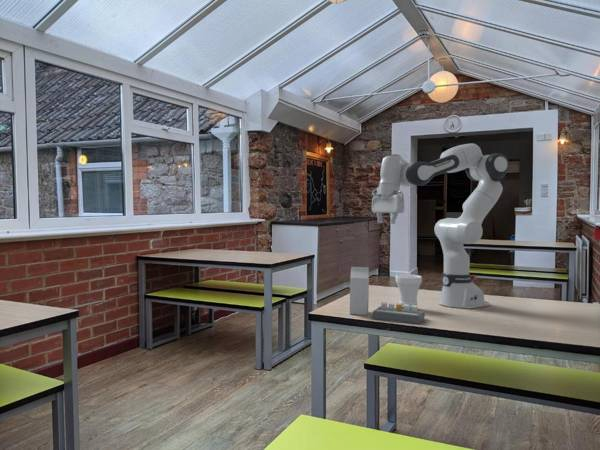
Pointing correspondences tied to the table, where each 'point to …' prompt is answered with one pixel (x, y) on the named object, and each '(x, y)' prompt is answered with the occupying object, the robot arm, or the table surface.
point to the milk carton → (359, 290)
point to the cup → (408, 288)
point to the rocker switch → (399, 307)
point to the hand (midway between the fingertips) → (386, 223)
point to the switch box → (399, 314)
